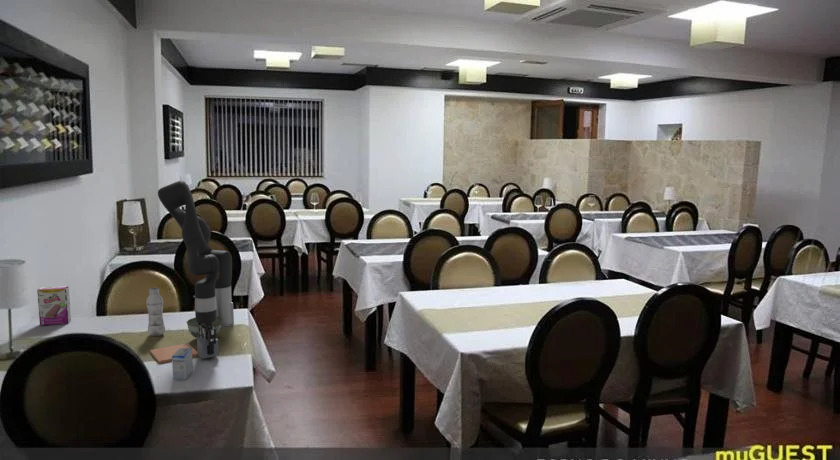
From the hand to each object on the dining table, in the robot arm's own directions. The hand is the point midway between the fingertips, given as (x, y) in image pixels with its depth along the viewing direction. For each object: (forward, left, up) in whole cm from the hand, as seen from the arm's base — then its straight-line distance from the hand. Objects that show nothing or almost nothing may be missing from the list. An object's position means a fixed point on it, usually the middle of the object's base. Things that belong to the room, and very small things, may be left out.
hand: (207, 351), depth 218 cm
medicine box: (+12, +12, -3) cm, 17 cm away
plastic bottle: (+9, -38, -3) cm, 39 cm away
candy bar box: (+41, -80, -3) cm, 90 cm away
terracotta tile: (+9, -11, -2) cm, 15 cm away
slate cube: (0, 0, -1) cm, 1 cm away
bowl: (-6, -22, -3) cm, 23 cm away
